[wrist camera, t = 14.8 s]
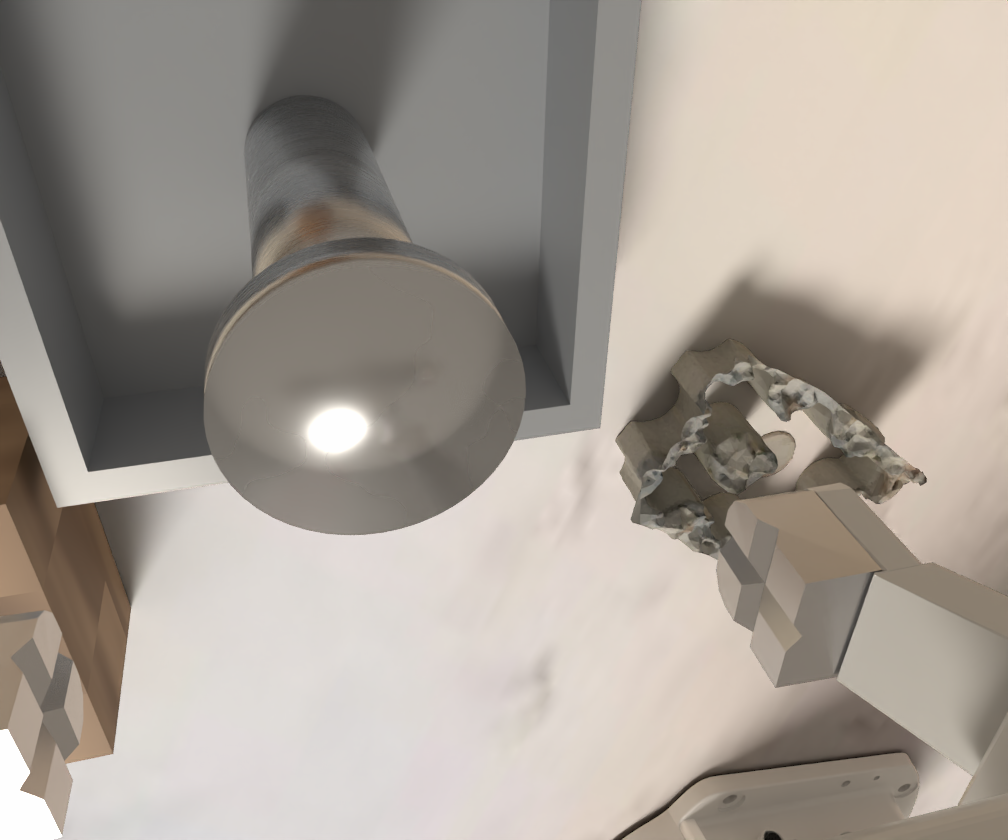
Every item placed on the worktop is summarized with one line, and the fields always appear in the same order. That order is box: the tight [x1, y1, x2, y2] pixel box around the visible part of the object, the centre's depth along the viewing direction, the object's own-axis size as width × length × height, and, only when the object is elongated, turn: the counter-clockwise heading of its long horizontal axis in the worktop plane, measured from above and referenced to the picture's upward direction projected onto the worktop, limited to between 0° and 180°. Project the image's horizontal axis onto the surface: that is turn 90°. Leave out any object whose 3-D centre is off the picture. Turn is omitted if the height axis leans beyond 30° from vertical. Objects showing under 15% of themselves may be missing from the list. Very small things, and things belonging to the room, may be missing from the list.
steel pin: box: [204, 95, 526, 535], centre depth 18 cm, size 5×5×12 cm
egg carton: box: [616, 339, 927, 560], centre depth 32 cm, size 11×8×4 cm
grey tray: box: [0, 0, 641, 508], centre depth 21 cm, size 15×15×4 cm
